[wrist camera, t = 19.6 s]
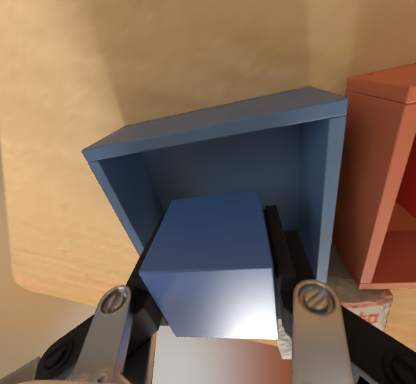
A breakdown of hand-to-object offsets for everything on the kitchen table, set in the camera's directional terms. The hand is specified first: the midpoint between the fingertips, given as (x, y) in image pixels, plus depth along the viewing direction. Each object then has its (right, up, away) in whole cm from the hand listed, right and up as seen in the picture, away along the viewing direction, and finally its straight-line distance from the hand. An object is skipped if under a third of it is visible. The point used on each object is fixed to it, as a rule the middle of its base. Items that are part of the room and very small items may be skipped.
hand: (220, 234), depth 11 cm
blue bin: (+1, +3, +4) cm, 5 cm away
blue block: (0, 0, 0) cm, 1 cm away
